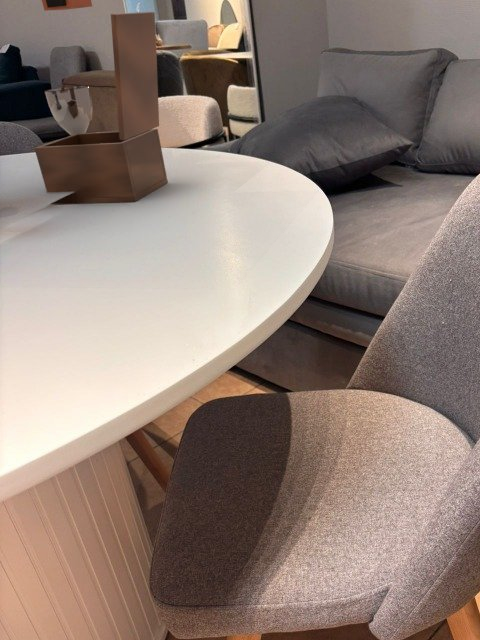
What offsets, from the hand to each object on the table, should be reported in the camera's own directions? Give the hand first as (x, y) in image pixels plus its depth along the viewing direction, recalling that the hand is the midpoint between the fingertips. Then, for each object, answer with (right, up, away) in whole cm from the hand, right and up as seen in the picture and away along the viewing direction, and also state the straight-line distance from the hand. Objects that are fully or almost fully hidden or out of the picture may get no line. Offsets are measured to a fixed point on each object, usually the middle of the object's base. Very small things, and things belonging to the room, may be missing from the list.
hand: (67, 5), depth 93 cm
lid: (+9, -8, +4) cm, 13 cm away
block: (0, 0, 0) cm, 0 cm away
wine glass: (-8, -12, +34) cm, 37 cm away
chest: (+2, -22, +15) cm, 27 cm away
